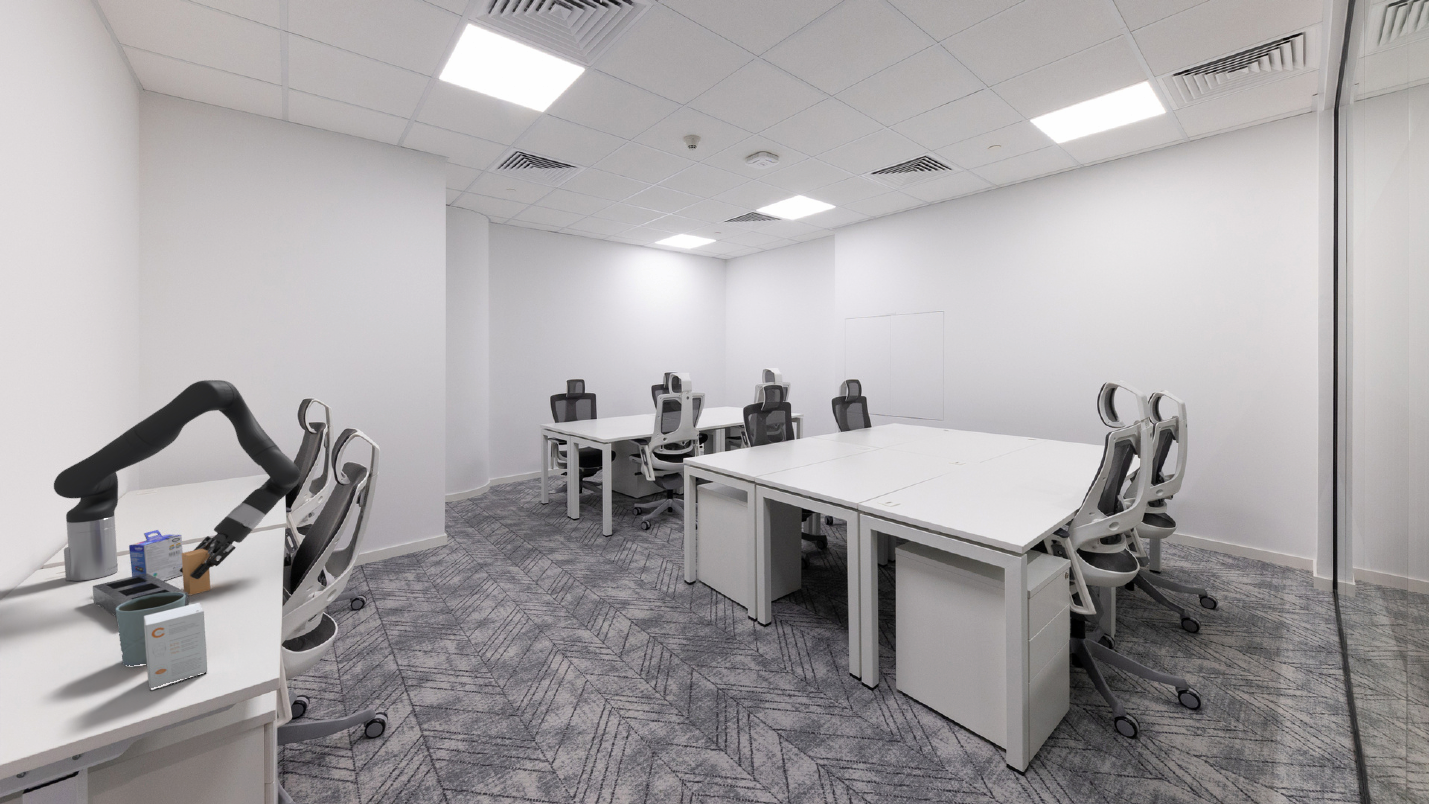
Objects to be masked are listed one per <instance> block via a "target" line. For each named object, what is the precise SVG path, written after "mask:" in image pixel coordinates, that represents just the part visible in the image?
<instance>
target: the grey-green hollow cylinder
mask: <svg viewBox="0 0 1429 804" xmlns="http://www.w3.org/2000/svg"><path fill="white" fill-rule="evenodd" d="M185 597H186V595H185V594H184V593H181V592H167V593H159V594H153V595H148V596H143V597H140V598H136V599H133V600H130V601H127V602H125V603H122V604H121V605H119V606H118V607H117V608H116V609H115V610H116V616H117V617H116V616H115V617H116V620H117V621H116V622H117V626H118V633H119V634H118V637H119V643H120V644H119V645H120V651H121V653H122V654H121V659H122V664H123V666H124V665H127V666H129V665H130V666H134V665H140V664H147V660H146V645H145V630H144V616H146V615H150V614H154V613H158V612H163V611H167V610H171V609H175V608H179V607H183V606H185Z"/></svg>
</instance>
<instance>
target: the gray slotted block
mask: <svg viewBox="0 0 1429 804" xmlns="http://www.w3.org/2000/svg"><path fill="white" fill-rule="evenodd" d="M167 592H181V593H184V594H185V595H186V597H185V606H187V605H190V603H189V594H188V593H187V592H185V591H184V589H181V588H179V587H176V585H175V586H174V585H172V584H170V583H168V582H166V581H162V580H160V579H158V578H156V577H154V576H151V575H149V574H147V573H146V574H141V575H137V576H133V577H132V576H129V577H125V578H120V579H116V580H112V581H108V582H103V583H100V584H99V583H98V584H95V585H92V597H93V598H92V599H93V603H94V604H95V605H97V606H98V607H99V608H102V609H103V610H105V611H106V612H108V613H110V614H111V615H113V616H114V615H115V616H114V617H116V618H117V616H116V610H115V609H116V608H117V607H118V606H119V605H121V604H122V603H125V602H127V601H130V600H133V599H136V598H140V597H143V596H148V595H153V594H159V593H167Z"/></svg>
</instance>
